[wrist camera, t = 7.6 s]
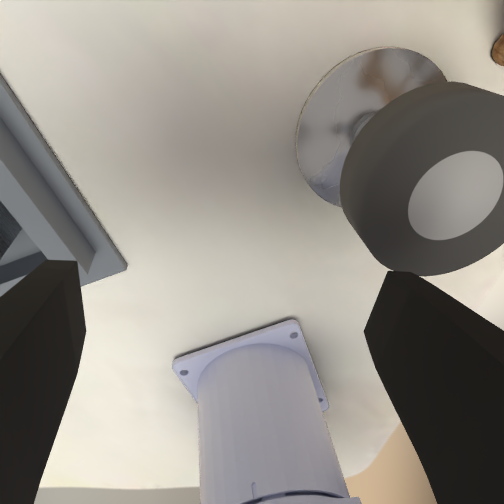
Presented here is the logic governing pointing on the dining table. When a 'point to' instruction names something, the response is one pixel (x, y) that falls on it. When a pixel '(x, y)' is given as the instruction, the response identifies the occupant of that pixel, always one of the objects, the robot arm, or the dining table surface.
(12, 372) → the robot arm
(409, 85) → the axle mount
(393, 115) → the wheel
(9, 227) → the block
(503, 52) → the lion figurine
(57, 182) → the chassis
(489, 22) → the dining table surface
